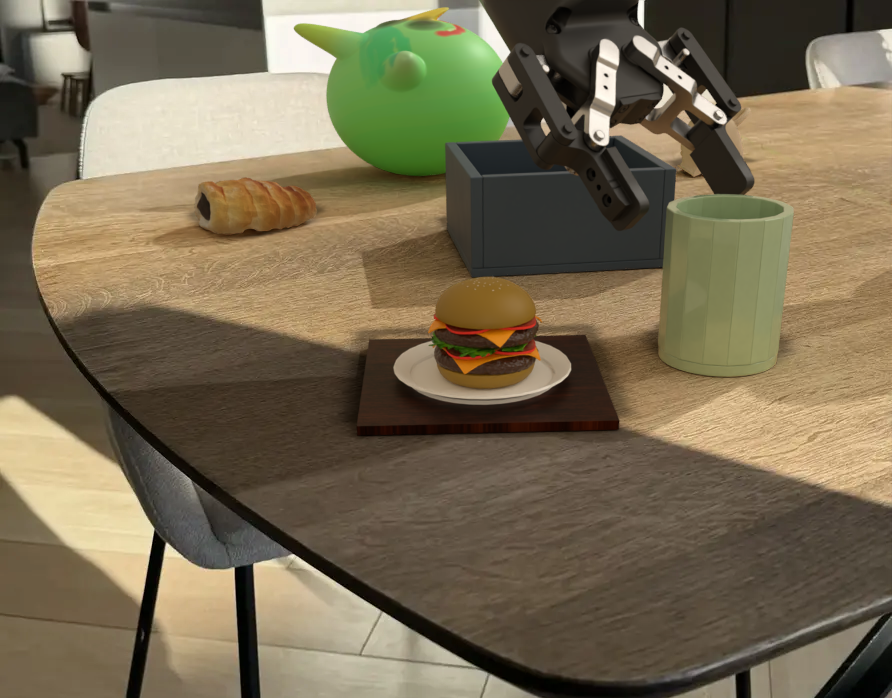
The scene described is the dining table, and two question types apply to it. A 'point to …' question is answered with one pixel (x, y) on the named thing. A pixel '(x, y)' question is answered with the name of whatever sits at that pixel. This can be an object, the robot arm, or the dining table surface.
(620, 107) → the robot arm
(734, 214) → the tub
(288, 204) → the pastry
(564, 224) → the bin
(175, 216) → the dining table surface
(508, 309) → the hamburger
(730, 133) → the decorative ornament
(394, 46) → the toy bird
